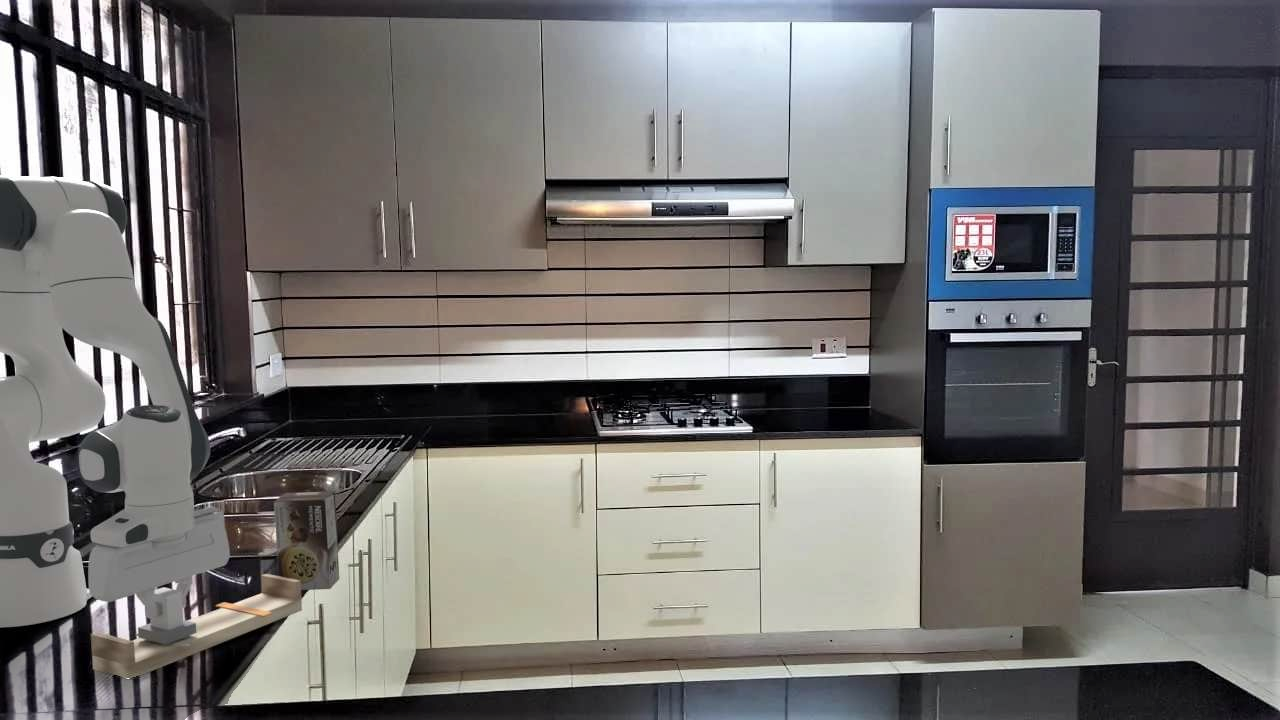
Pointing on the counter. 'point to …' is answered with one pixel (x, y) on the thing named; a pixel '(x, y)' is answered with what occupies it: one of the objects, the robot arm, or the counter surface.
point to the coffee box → (307, 538)
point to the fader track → (199, 630)
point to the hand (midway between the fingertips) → (166, 612)
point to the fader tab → (167, 619)
